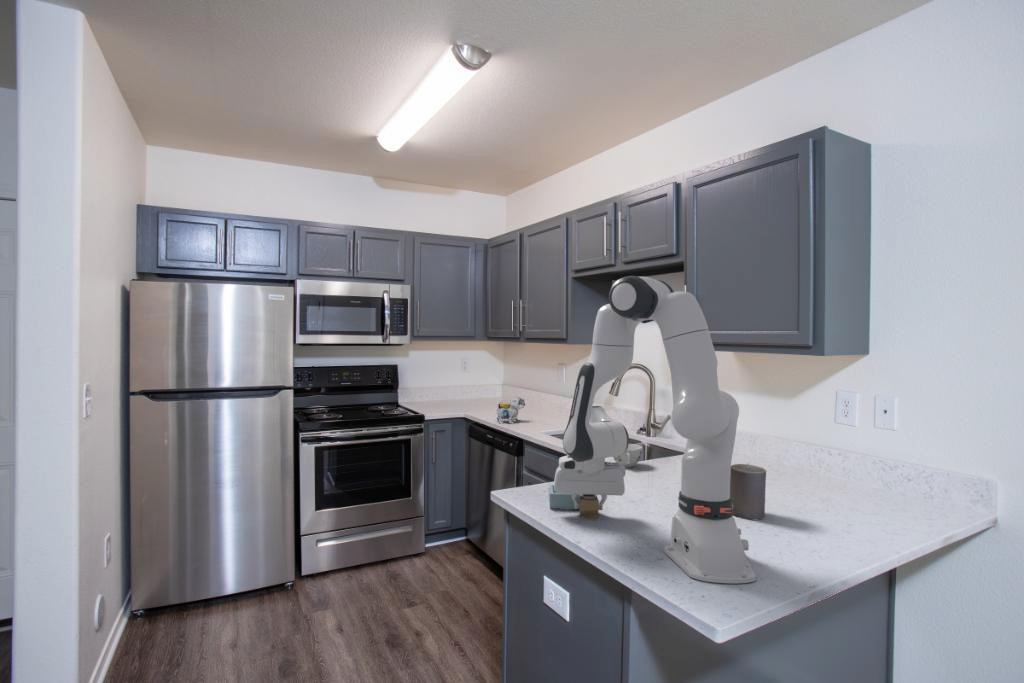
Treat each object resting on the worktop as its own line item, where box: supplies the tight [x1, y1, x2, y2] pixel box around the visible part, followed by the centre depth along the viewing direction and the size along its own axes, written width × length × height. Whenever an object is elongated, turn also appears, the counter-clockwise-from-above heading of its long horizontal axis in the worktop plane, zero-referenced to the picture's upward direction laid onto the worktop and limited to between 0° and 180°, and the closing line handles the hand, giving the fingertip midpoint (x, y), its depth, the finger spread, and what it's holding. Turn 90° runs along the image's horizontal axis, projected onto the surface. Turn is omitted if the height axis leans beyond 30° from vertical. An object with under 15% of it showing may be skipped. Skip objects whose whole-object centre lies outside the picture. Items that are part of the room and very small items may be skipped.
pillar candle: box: [730, 463, 767, 520], centre depth 155 cm, size 10×10×15 cm
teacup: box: [612, 443, 644, 469], centre depth 209 cm, size 15×12×8 cm
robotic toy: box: [496, 396, 526, 424], centre depth 309 cm, size 13×17×15 cm
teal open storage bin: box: [548, 484, 579, 510], centre depth 164 cm, size 16×12×6 cm
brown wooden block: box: [578, 494, 600, 519], centre depth 152 cm, size 6×5×6 cm
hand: (588, 509), depth 152 cm, fingers closed on brown wooden block, 5 cm apart
